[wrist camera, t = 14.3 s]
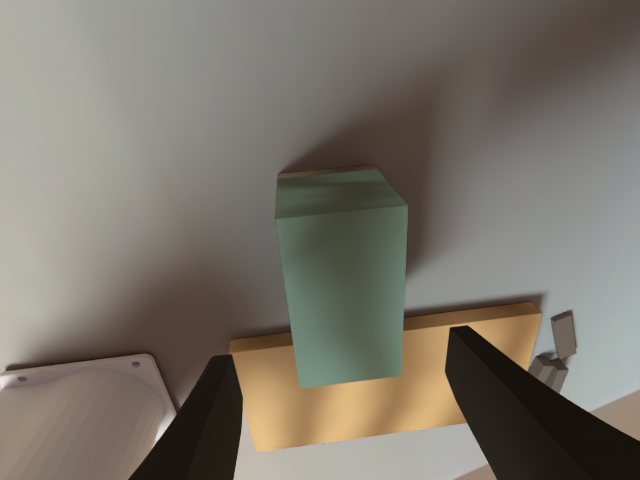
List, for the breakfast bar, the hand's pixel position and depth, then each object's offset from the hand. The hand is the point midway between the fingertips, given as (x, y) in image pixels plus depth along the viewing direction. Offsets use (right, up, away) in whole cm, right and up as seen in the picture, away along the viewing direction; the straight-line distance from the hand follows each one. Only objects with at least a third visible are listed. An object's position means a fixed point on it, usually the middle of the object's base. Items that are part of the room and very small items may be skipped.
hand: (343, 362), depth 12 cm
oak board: (+4, -6, +14) cm, 15 cm away
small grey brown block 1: (+17, -3, +13) cm, 21 cm away
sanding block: (0, +4, +9) cm, 10 cm away
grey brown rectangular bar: (+15, -7, +15) cm, 22 cm away
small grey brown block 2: (+17, -7, +15) cm, 24 cm away
